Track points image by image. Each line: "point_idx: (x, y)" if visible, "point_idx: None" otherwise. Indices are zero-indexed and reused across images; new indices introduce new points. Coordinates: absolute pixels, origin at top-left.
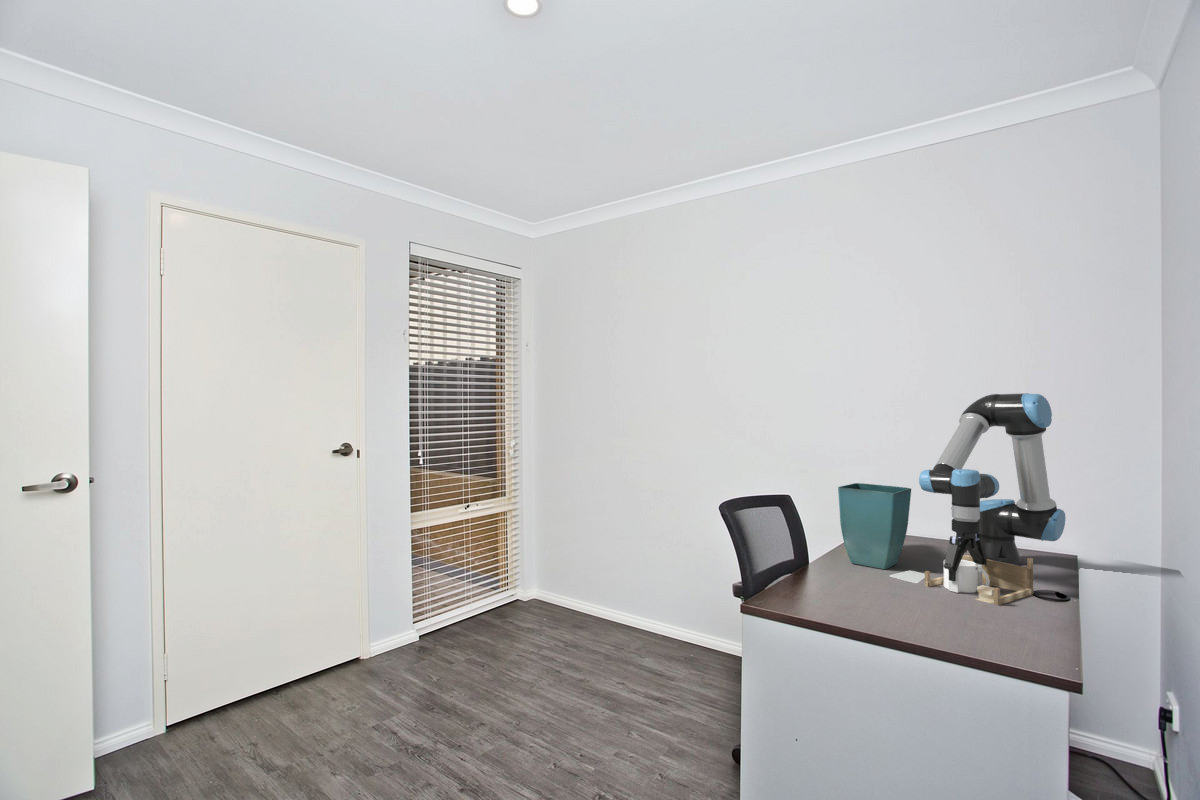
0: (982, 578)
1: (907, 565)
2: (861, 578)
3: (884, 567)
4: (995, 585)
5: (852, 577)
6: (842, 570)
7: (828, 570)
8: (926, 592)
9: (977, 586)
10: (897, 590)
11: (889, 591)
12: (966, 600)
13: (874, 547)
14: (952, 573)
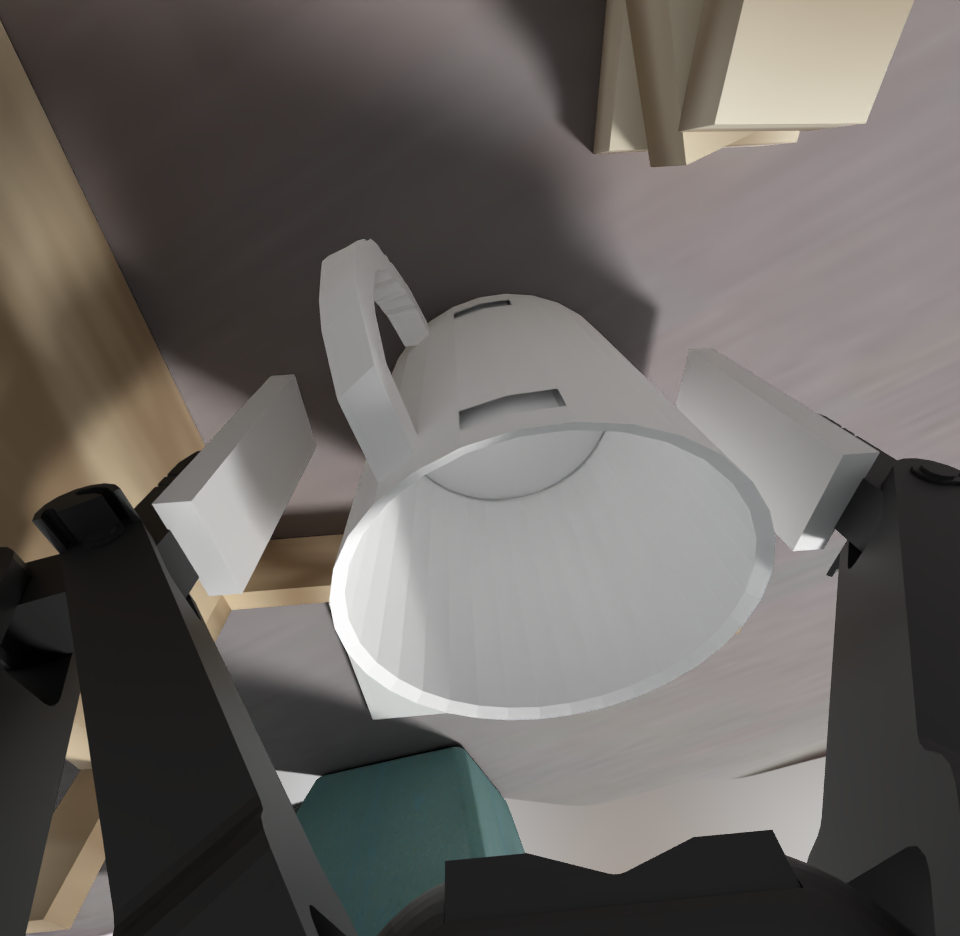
0: (243, 407)
1: (285, 757)
2: (684, 706)
3: (466, 756)
4: (108, 327)
5: (698, 719)
6: (624, 766)
7: (667, 773)
8: None
9: (857, 122)
10: (780, 574)
11: (831, 577)
12: (698, 259)
13: None
14: (881, 463)
